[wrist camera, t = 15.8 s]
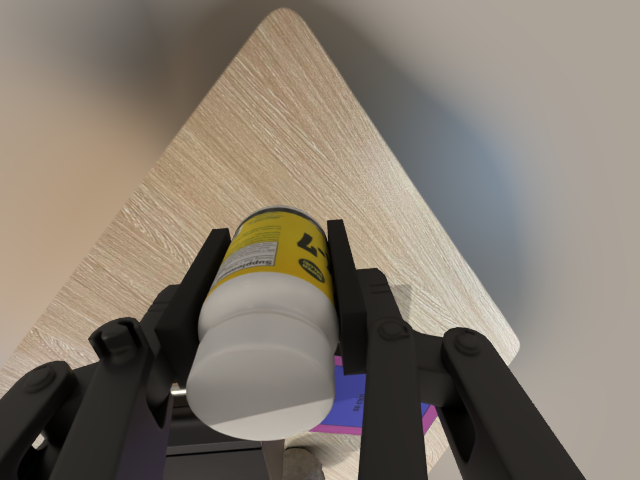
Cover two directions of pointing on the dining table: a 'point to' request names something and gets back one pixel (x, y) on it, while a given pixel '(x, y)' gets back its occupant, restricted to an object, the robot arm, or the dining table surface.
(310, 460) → the potted plant
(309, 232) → the supplement bottle
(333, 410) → the book
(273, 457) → the oven
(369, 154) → the dining table surface
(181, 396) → the oven door
